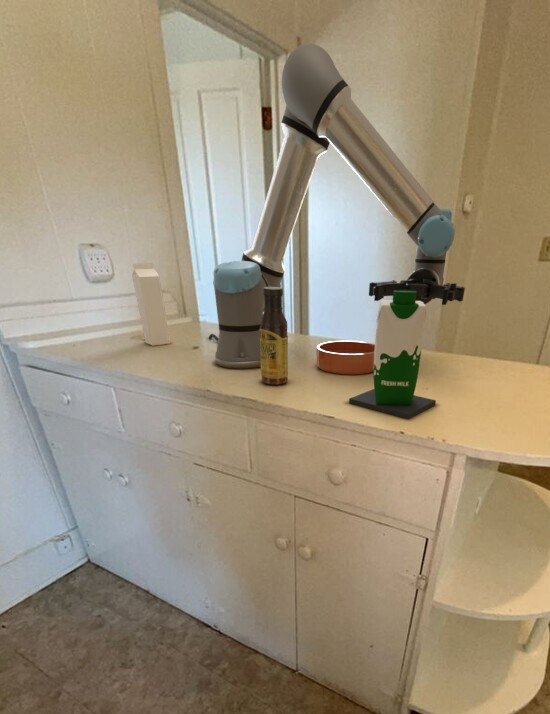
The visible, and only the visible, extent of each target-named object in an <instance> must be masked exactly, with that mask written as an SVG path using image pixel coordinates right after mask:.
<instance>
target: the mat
mask: <svg viewBox="0 0 550 714" xmlns="http://www.w3.org/2000/svg"><path fill="white" fill-rule="evenodd" d="M436 402H437V400H436V399H431V398H427V397H423V396H420V395H415V394H414V396H413V400H412V404H411V406H410V405H382V404H376V399H375V389H374V388H372V389H370V390H367V391H364V392H362V393H360V394H357V395H354V396H352V397H349V399H348V403H349V404H351V405H354V406H359V407H361V408H366V409H369V410H374V411H375V412H376V411H377V412H380V413H384V414H388V415H392V416H395V417H398V418H403V419H406V420H409V419H412V418H413V417H415V416H417V415H419V414H421V413H423V412H425V411H426V410H429V409H430V408H432V407H434V406H436Z"/></svg>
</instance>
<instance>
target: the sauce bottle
mask: <svg viewBox="0 0 550 714" xmlns="http://www.w3.org/2000/svg"><path fill="white" fill-rule="evenodd" d="M263 292H264V293H263V294H264V296H265V300H264V301H265V308H264V312H263V317H262V321H261V325H260V357H261V367H260V375H261V381H262V383H264V384H266V385H271V386H277V385H283V384H286V383H287V382H288V374H289V336H288V321H287V319H286V317H285V315H284V311H283V295H284V290H283V287H281V288H280V287H264V290H263Z"/></svg>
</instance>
